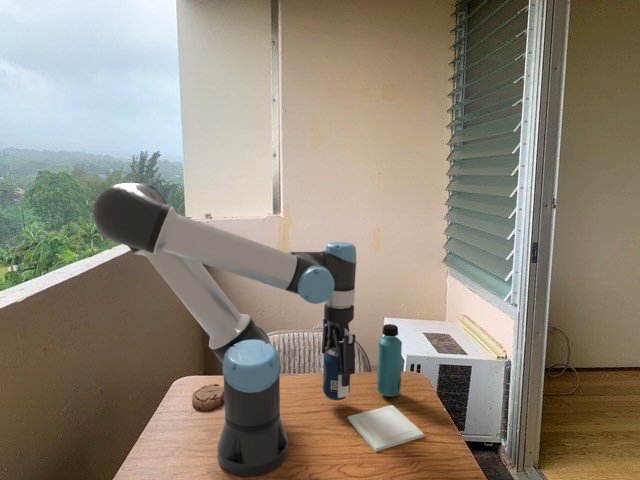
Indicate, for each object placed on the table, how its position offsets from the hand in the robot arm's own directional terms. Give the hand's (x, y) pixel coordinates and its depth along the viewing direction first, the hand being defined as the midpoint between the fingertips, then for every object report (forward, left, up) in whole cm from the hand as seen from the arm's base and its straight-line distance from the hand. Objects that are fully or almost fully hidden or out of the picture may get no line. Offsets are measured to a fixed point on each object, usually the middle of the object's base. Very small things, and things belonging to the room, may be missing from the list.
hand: (336, 388), depth 107 cm
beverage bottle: (+15, -1, -5) cm, 16 cm away
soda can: (0, 0, -2) cm, 2 cm away
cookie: (-30, +16, -5) cm, 34 cm away
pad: (+6, -13, -5) cm, 15 cm away
